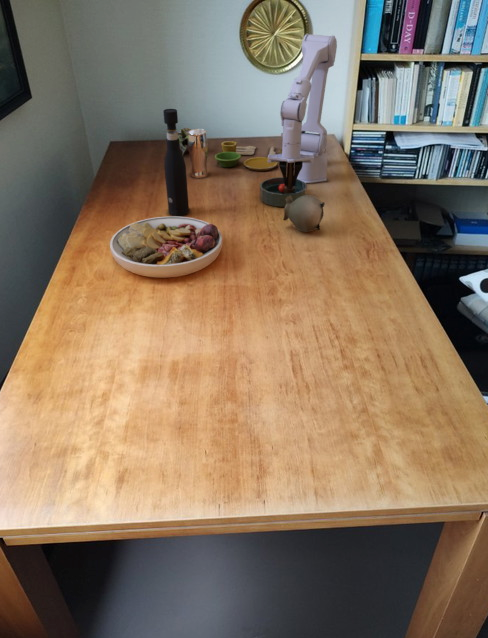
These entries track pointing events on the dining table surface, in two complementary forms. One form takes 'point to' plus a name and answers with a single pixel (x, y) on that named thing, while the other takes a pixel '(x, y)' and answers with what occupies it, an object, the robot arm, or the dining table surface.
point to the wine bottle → (175, 168)
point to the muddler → (289, 179)
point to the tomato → (281, 188)
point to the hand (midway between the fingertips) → (289, 185)
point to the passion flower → (183, 139)
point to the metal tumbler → (198, 152)
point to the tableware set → (233, 154)
